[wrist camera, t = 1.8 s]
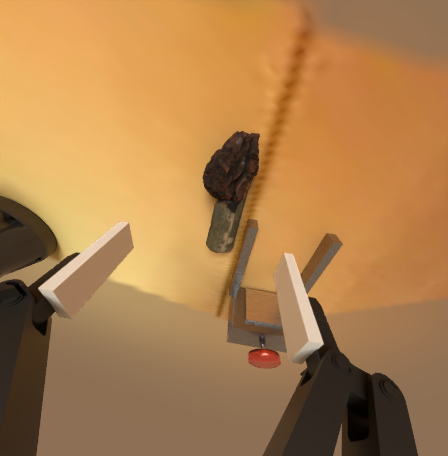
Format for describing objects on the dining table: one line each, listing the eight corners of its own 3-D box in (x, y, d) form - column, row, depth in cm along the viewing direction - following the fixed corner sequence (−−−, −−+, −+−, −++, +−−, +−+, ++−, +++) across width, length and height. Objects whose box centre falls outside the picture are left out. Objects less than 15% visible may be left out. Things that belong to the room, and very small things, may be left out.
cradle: (225, 300, 42) (220, 361, 31) (248, 218, 28) (251, 276, 18) (285, 311, 42) (298, 375, 31) (335, 234, 28) (388, 301, 18)
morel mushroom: (233, 240, 32) (231, 261, 27) (198, 231, 31) (190, 252, 27) (266, 135, 22) (271, 140, 17) (215, 122, 21) (206, 124, 17)
